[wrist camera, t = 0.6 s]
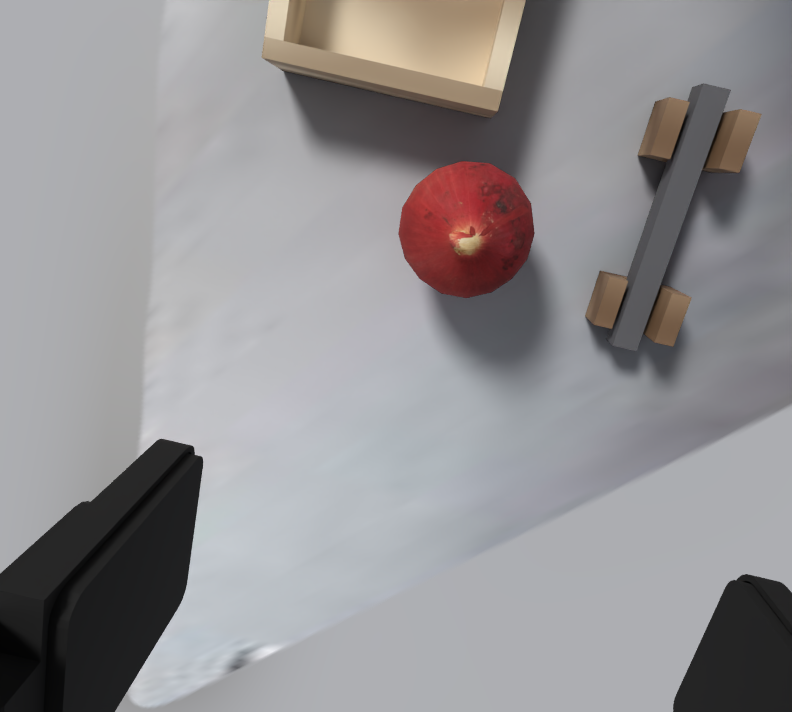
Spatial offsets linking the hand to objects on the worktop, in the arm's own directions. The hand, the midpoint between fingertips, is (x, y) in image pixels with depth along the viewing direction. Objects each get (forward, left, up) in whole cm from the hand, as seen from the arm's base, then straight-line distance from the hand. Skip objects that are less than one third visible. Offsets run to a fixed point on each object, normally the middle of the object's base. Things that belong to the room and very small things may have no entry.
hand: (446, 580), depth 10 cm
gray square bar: (-6, +9, -22) cm, 24 cm away
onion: (-4, 0, -22) cm, 22 cm away
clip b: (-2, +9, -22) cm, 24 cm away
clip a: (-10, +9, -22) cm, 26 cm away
